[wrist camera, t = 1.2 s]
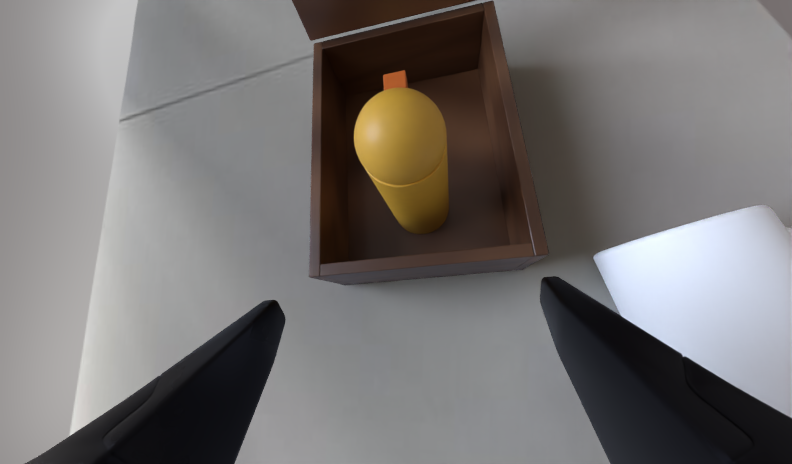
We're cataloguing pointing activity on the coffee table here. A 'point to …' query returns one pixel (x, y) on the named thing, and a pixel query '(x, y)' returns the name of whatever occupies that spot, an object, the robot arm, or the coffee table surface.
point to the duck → (405, 153)
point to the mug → (715, 296)
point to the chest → (466, 154)
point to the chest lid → (359, 13)
